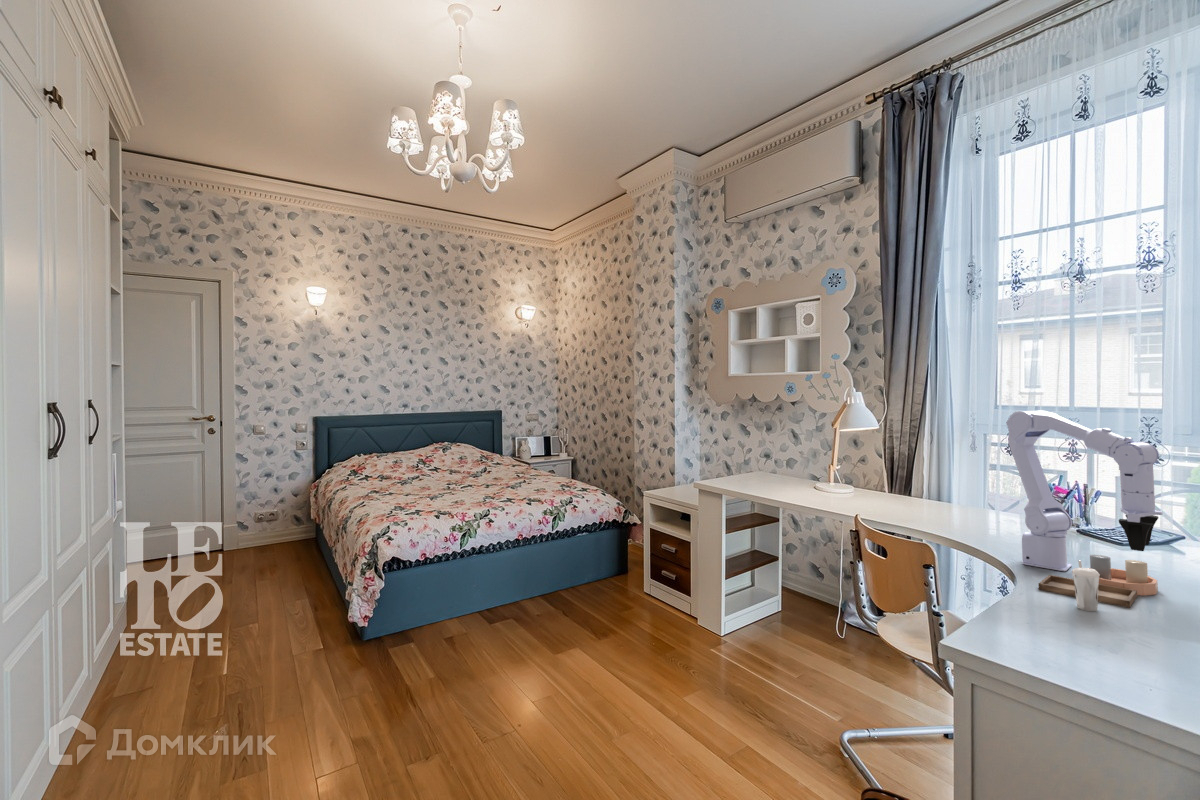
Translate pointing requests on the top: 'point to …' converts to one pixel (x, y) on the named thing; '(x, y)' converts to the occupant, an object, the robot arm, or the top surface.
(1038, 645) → the top surface
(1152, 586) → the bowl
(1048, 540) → the robot arm
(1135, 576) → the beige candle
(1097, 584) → the milkshake
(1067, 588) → the tray
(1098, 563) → the grey cylinder
